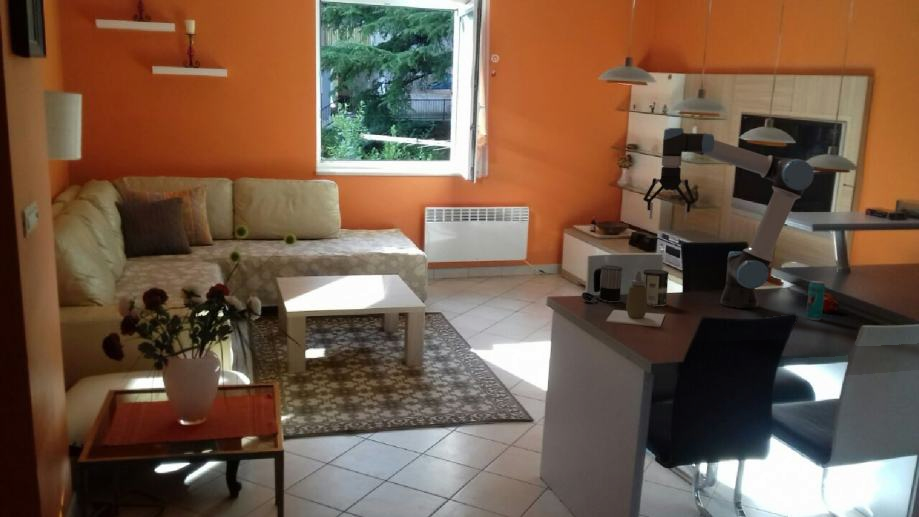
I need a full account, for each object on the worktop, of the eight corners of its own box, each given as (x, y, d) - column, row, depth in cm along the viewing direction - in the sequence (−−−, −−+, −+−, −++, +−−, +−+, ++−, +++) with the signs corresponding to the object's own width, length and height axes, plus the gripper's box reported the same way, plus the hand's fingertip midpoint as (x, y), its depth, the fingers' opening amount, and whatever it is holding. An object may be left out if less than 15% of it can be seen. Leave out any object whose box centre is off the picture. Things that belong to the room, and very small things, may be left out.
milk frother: (624, 301, 346) (626, 266, 344) (608, 307, 334) (610, 271, 331) (594, 296, 355) (596, 263, 352) (577, 302, 342) (579, 267, 340)
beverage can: (802, 317, 321) (806, 280, 319) (814, 316, 324) (817, 280, 321) (813, 321, 316) (817, 283, 314) (825, 320, 318) (828, 282, 316)
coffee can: (663, 302, 346) (665, 269, 344) (669, 307, 336) (671, 273, 334) (639, 301, 346) (641, 268, 344) (644, 306, 336) (646, 273, 334)
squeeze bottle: (647, 315, 316) (650, 270, 313) (646, 320, 308) (649, 273, 305) (626, 314, 318) (628, 269, 315) (624, 318, 310) (627, 272, 307)
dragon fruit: (814, 311, 342) (835, 321, 331) (803, 300, 338) (824, 311, 327) (826, 295, 341) (848, 305, 331) (816, 284, 338) (837, 294, 327)
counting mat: (664, 315, 319) (664, 314, 319) (660, 327, 301) (660, 325, 301) (613, 311, 326) (613, 309, 326) (606, 321, 307) (606, 320, 307)
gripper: (704, 167, 324) (700, 220, 327) (640, 165, 331) (637, 217, 335) (703, 168, 317) (699, 222, 320) (638, 166, 324) (635, 218, 328)
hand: (667, 219), depth 327 cm, fingers open, 13 cm apart
